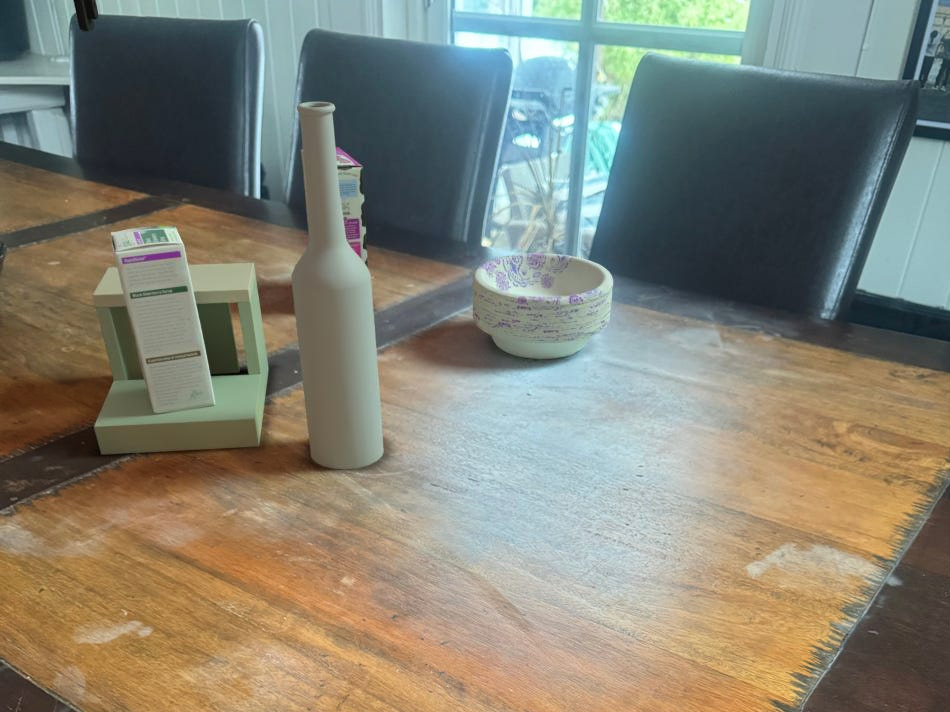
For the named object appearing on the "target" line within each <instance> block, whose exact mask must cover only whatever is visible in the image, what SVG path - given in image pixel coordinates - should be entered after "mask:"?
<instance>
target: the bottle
mask: <svg viewBox="0 0 950 712" xmlns="http://www.w3.org/2000/svg"><path fill="white" fill-rule="evenodd" d="M296 110H297V112H298V113H299V122H300V131H301V132H300V133H301V141H302V149H303V154H304V164H305V175H306V186H307V203H308V221H307V227H308V226H309V233H308V244H307V246H306V248H305V250H304V252H303V253H302V255H301V256H300V258H299V259H298V261H297V262H296V263H295V264H294V267H293V270H292V272H291V287H292V296H293V305H294V306H293V307H294V315H295V324H296V332H297V343H298V352H299V362H300V370H301V378H302V386H303V397H304V407H305V415H306V426H307V432H308V441H309V450H310V456H311V457H310V458H311V459H312V460H313V461H314V462H315V463H316V464H318V465H320V466H322V467H325V468H329V469H334V470H352V469H361V468H364V467H367V466H370V465H372V464H374V463H376V462H377V461H379V460H380V459H381V458H382V457H383V455H384V452H385V451H384V435H383V433H384V432H383V420H382V419H383V417H382V407H381V406H382V404H381V391H380V377H379V366H378V353H377V339H376V327H375V325H376V323H375V315H374V314H375V312H374V311H375V310H374V301H373V288H372V287H373V286H372V275H371V271H370V270H369V267H368V268H367V266H366V264H365V263H364V261H363V260H362V259H361V258H360V257H359V256H358V255H357V254H356V253H355V251H354V250H353V249H352V248H351V246H350V245H349V244H348V242H347V239H346V234H345V227H344V220H343V213H342V205H341V198H340V191H339V181H338V170H337V159H336V148H335V147H336V138H335V126H334V116H333V113H334V112H335V111H336V107H335V104H334V103H332V102H327V101H306V102H302V103H298V105H296Z"/></svg>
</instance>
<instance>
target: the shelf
mask: <svg viewBox="0 0 950 712" xmlns="http://www.w3.org/2000/svg"><path fill="white" fill-rule="evenodd" d="M188 268H189V273H190V278H191V282H192V287H193V291H194V296H195V301H196V306H197V310H198V315H199V320H200V325H201V330H202V335H203V340H204V345H205V350H206V355H207V360H208V365H209V370H210V376H211V381H212V387H213V392H214V397H215V405H212V406H207V407H201V408H195V409H189V410H182V411H175V412H166V413H154V412H153V409H152V406H151V402H150V398H149V395H148V391H147V387H146V384H145V380H144V376H143V372H142V368H141V364H140V359H139V355H138V351H137V347H136V343H135V339H134V335H133V331H132V327H131V323H130V319H129V316H128V311H127V307H126V302H125V298H124V294H123V290H122V286H121V282H120V278H119V273H118V269H117V266H111V267H107V269H106V271H105V273H104V275H103V276H102V278H101V280H100V281H99V283H98V284H97V287H96V288H95V290H94V292H93V293H92V298H93V302H94V303H93V304H94V306H95V310H96V314H97V319H98V322H99V326H100V331H101V334H102V339H103V343H104V346H105V350H106V355H107V360H108V363H109V366H110V371H111V375H112V379H113V382H112V384H111V386H110V389H109V391H108V393H107V396H106V398H105V400H104V402H103V405H102V407H101V410H100V412H99V414H98V416H97V418H96V421H95V423H94V425H93V429H94V433H95V436H96V440H97V443H98V448H99V451H100V455H117V454H120V455H121V454H137V453H139V454H140V453H157V452H176V451H194V450H196V451H197V450H214V449H216V450H217V449H234V448H254V447H255V448H256V447H260V444H261V443H260V442H261V434H262V426H263V419H264V418H263V417H264V409H265V403H266V402H265V401H266V393H267V384H268V377H269V369H270V368H269V362H268V361H269V360H268V354H267V346H266V340H265V332H264V326H263V318H262V312H261V311H262V310H261V303H260V298H259V289H258V284H257V283H258V282H257V277H256V276H257V275H256V268H255V263H254V262H237V263H236V262H234V263H206V264H205V263H203V264H199V263H198V264H188ZM231 303H237V309H238V315H239V322H240V329H241V334H242V341H243V347H244V348H243V349H244V354H245V361H246V369H247V373H248V374H240V372H241V369H240V368H241V367H240V361H239V356H238V349H237V343H236V337H235V330H234V324H233V318H232V312H231V305H230V304H231ZM217 374H218V375H217ZM219 374H220V375H219ZM221 374H233V375H221ZM213 375H214V376H213Z"/></svg>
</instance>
